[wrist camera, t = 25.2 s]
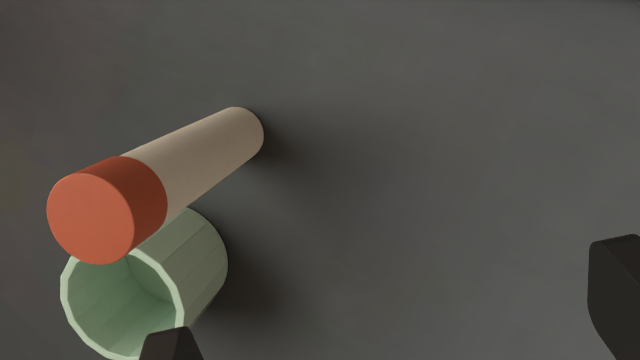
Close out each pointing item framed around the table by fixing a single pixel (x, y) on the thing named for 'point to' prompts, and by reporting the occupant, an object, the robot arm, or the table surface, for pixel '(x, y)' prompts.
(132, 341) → the pen pot
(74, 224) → the marker
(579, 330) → the table surface
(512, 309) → the table surface
